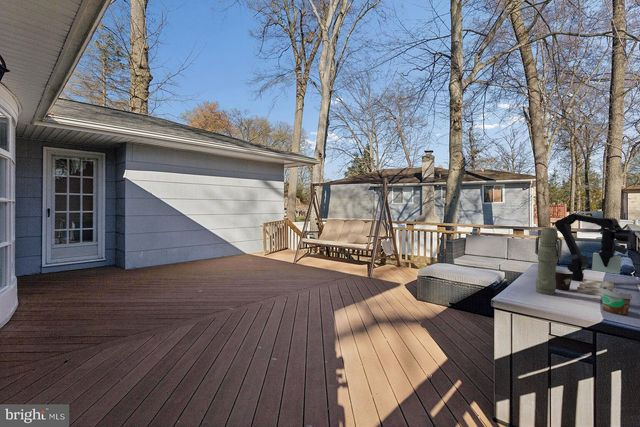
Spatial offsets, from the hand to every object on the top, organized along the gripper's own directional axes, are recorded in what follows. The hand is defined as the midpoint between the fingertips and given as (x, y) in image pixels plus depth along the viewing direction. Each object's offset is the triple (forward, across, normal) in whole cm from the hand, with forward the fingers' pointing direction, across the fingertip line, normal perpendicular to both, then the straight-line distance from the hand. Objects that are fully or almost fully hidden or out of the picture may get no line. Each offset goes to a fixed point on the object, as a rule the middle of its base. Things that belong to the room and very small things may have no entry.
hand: (606, 266), depth 186 cm
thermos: (+12, -40, +22) cm, 47 cm away
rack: (+12, -12, +3) cm, 17 cm away
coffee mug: (+12, -26, +18) cm, 34 cm away
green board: (+3, 0, 0) cm, 3 cm away
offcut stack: (+12, -19, +4) cm, 23 cm away
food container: (+12, -52, -5) cm, 54 cm away
